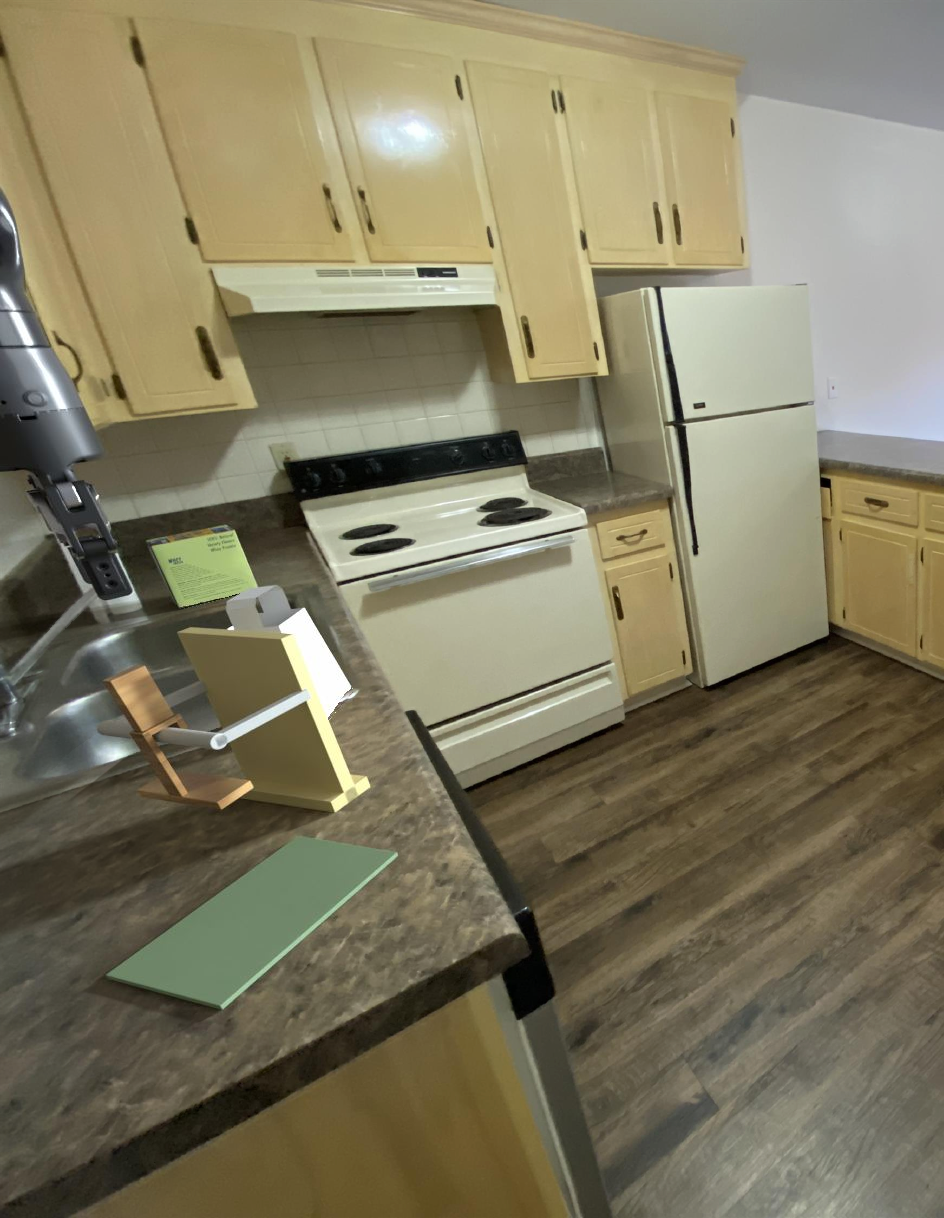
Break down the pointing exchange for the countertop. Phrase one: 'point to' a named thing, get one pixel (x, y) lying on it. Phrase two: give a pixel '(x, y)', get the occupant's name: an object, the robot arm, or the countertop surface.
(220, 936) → the mat
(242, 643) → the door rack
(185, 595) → the protein box
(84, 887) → the countertop surface
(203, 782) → the phone stand
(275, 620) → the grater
